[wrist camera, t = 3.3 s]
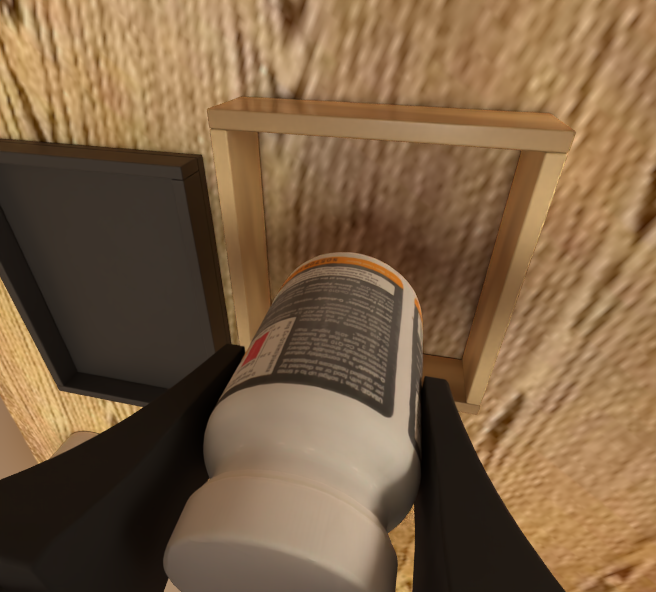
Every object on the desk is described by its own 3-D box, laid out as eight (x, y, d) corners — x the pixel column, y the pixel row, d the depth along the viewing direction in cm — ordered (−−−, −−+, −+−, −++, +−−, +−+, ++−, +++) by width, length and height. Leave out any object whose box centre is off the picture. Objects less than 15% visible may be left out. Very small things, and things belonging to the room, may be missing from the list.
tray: (240, 401, 28) (228, 424, 27) (78, 371, 31) (58, 390, 29) (202, 154, 19) (180, 166, 17) (-31, 135, 21) (-70, 145, 19)
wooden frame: (471, 370, 22) (477, 415, 20) (263, 337, 24) (243, 374, 22) (551, 113, 15) (577, 130, 12) (240, 96, 17) (205, 108, 14)
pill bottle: (256, 304, 17) (92, 561, 9) (347, 214, 14) (226, 480, 6) (354, 383, 18) (292, 669, 10) (456, 317, 15) (489, 654, 7)
